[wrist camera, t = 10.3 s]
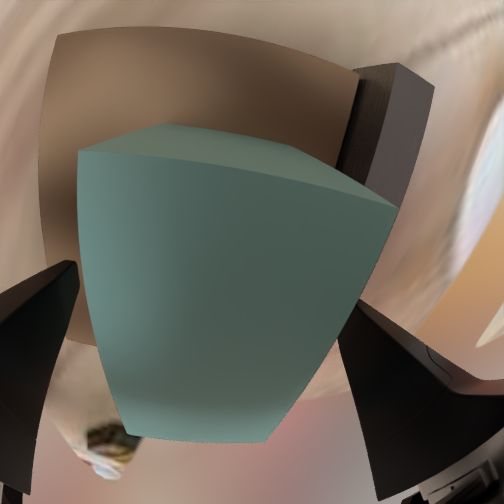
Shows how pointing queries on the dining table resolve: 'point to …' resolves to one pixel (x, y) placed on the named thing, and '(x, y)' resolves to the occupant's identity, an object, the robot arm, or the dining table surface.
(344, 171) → the price rail
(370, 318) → the robot arm
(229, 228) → the teal carton
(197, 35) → the shelf board
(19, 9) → the dining table surface
